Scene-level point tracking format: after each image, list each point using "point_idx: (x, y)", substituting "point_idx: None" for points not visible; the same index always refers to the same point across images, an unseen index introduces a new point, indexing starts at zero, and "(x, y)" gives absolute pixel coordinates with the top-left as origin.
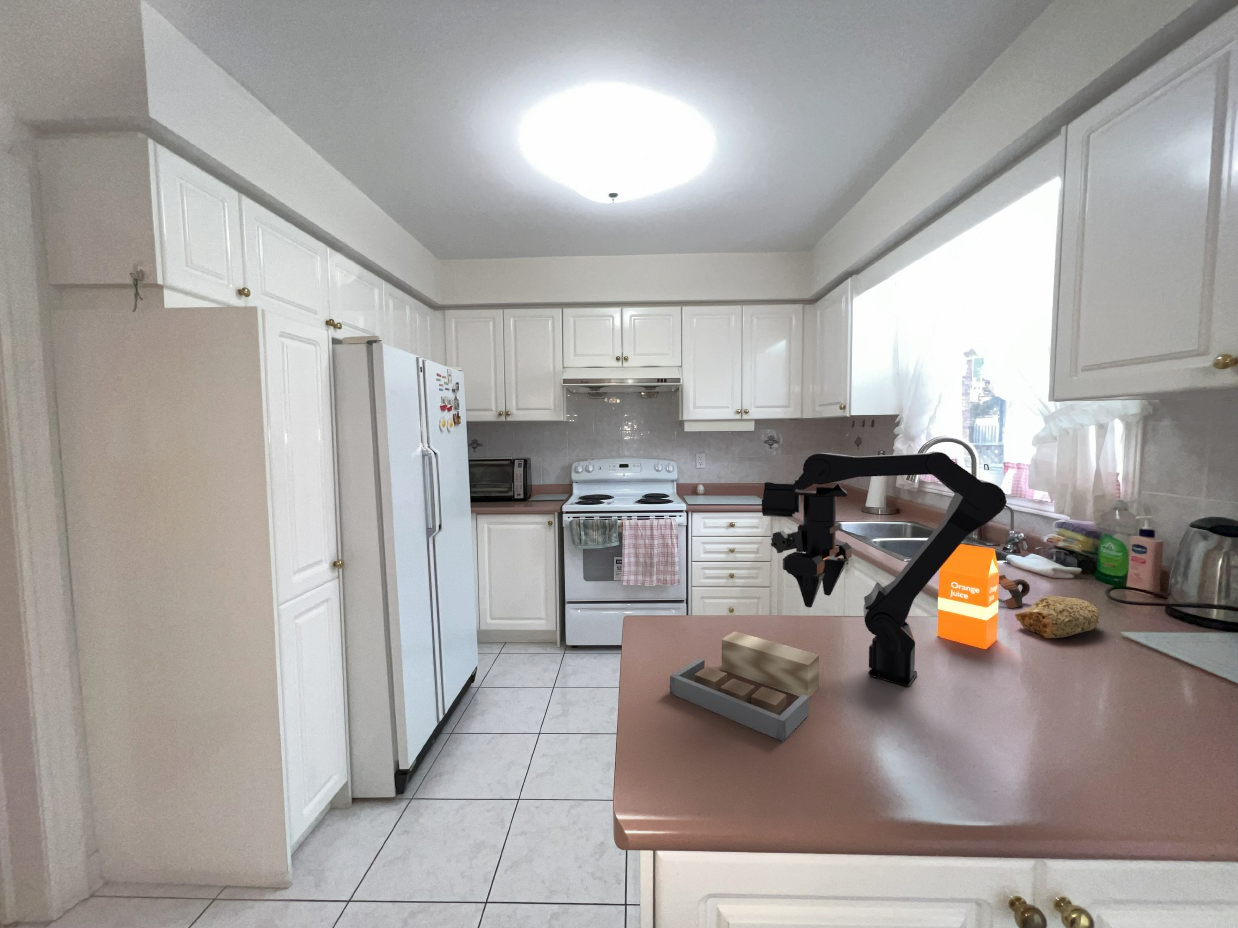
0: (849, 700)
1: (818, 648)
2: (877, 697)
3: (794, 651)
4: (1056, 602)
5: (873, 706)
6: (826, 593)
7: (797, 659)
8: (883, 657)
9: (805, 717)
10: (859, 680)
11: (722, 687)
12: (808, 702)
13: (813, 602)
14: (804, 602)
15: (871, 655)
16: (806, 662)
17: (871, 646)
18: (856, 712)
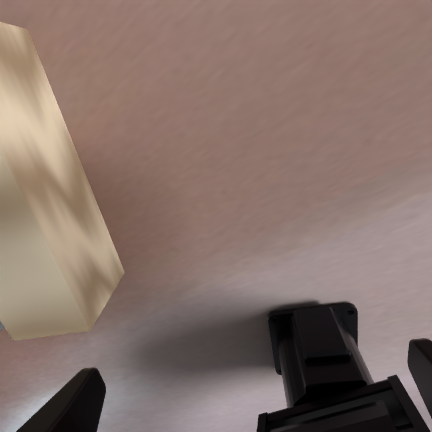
0: (134, 327)
1: (341, 155)
2: (190, 350)
3: (40, 280)
4: None
5: (153, 357)
6: (413, 360)
7: (8, 311)
8: (284, 376)
9: None
10: (230, 307)
11: None
12: (2, 328)
13: (93, 430)
14: (63, 389)
15: (299, 340)
16: (19, 332)
17: (307, 359)
18: (109, 348)
